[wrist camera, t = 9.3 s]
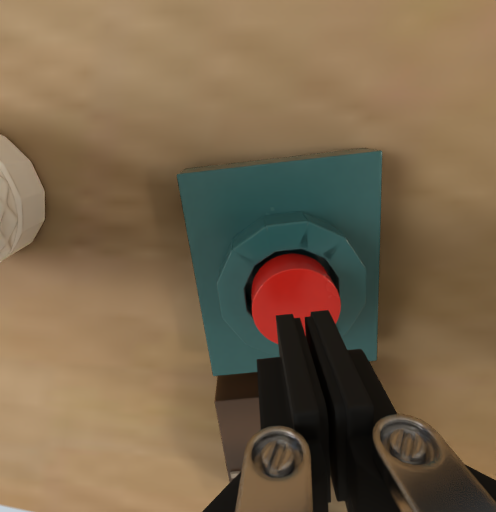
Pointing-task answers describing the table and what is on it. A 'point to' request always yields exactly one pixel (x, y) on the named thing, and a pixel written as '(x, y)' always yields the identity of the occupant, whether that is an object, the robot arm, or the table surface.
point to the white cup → (18, 200)
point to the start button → (291, 292)
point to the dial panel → (237, 416)
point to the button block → (283, 242)
